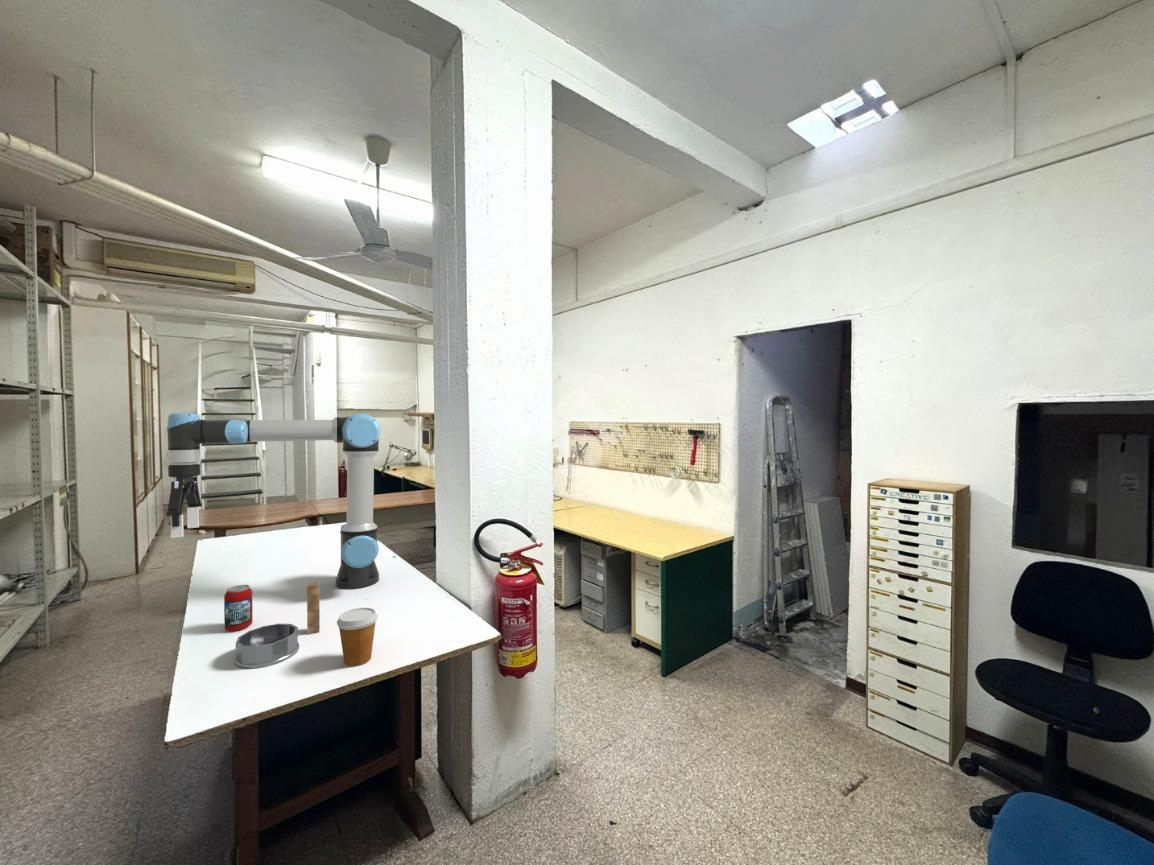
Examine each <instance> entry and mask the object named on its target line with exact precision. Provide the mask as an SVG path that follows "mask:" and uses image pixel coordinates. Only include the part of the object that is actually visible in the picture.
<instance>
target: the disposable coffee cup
mask: <svg viewBox="0 0 1154 865" xmlns="http://www.w3.org/2000/svg"><path fill="white" fill-rule="evenodd" d="M378 616H379V615H378V613H377V611H376V609H375V608H372V607H357V608H356V607H355V608H352V609H349V610H346V611H344V612H342V613H341V614H340V615H339V616H338V618H337V621H336V625H337V627H338V629H339V636H340V643H341V650H342V656H343V664H344V665H345V666H347V667H358V666H362V665H364V664H366V663H368V662H369V661H370V660H371V659H372V654H373V644H374V636H375V629H376V622H377V619H378Z"/></svg>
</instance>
